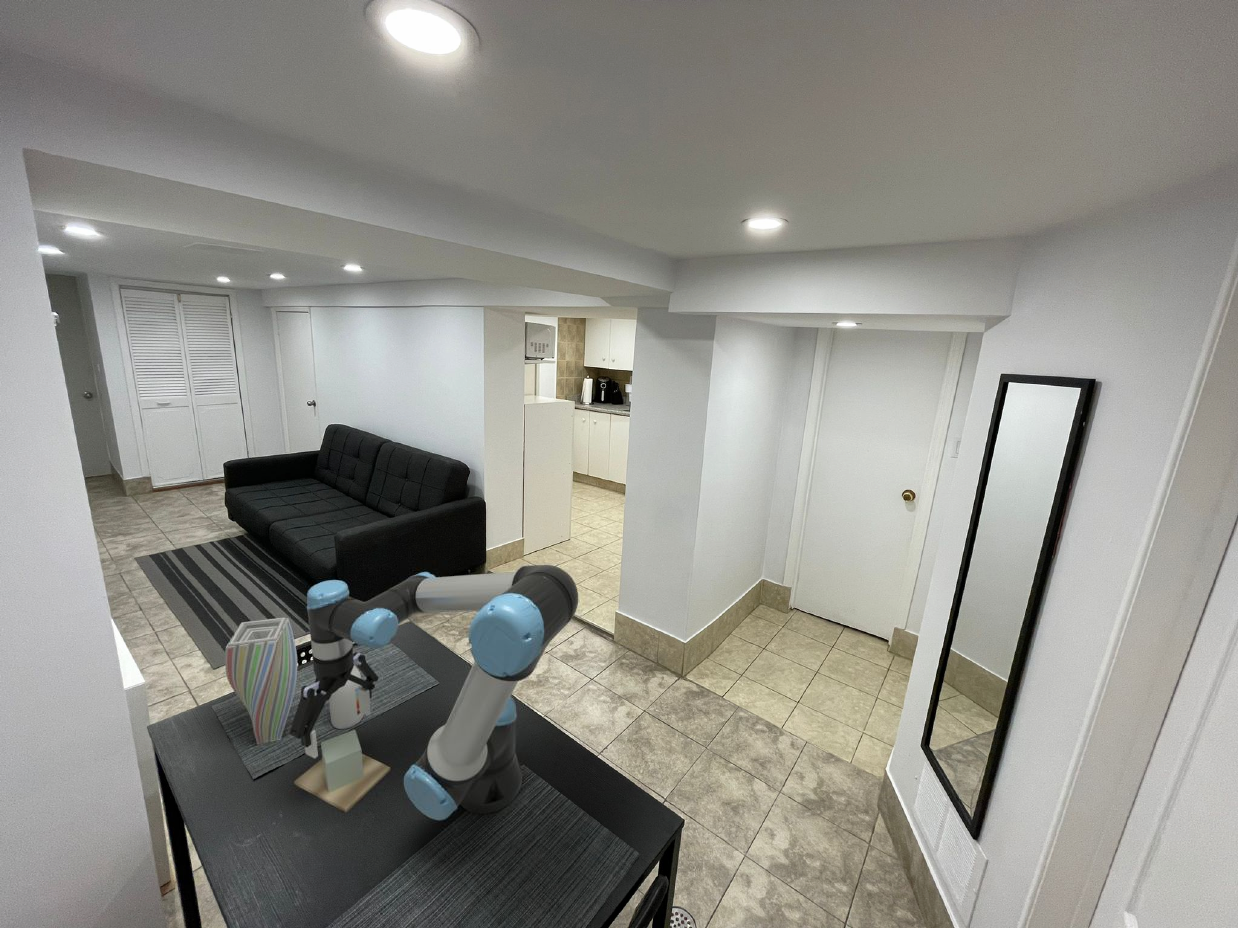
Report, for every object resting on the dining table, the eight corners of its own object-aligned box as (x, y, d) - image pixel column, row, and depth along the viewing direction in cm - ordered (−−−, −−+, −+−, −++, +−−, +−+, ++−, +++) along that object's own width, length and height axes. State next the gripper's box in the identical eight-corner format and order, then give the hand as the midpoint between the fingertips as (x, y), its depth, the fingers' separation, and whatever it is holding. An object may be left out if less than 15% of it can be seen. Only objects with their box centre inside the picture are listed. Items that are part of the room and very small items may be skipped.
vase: (297, 748, 121) (285, 642, 114) (229, 762, 116) (212, 652, 109) (308, 709, 133) (297, 611, 126) (247, 720, 128) (233, 618, 121)
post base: (390, 769, 118) (389, 748, 116) (346, 812, 107) (344, 789, 105) (341, 745, 123) (339, 724, 121) (294, 784, 112) (291, 761, 111)
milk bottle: (350, 732, 127) (345, 665, 122) (324, 726, 128) (317, 659, 123) (370, 711, 134) (366, 647, 129) (345, 705, 136) (340, 641, 131)
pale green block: (357, 756, 119) (354, 729, 117) (363, 777, 114) (361, 749, 112) (323, 770, 115) (320, 742, 113) (328, 792, 110) (326, 763, 108)
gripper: (367, 617, 119) (372, 692, 124) (261, 680, 96) (273, 768, 102) (391, 626, 116) (395, 702, 122) (288, 692, 94) (298, 782, 99)
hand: (340, 732), depth 112 cm, fingers open, 13 cm apart
